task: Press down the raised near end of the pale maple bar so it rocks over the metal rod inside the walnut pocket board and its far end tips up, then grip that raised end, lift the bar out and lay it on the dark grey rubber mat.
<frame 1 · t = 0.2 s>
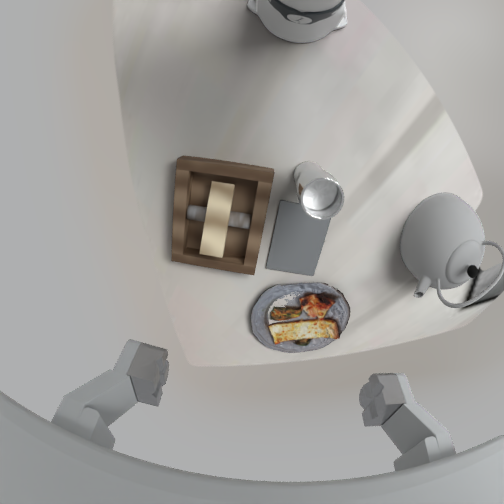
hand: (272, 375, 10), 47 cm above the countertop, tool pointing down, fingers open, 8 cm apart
rubber mat: (298, 239, 59), on the countertop
kettle: (434, 239, 57), on the countertop
pocket board: (220, 213, 57), on the countertop
maple bar: (217, 219, 53), point 4 cm above the countertop, tilted 50°, touching pocket board
food plate: (300, 315, 70), on the countertop
beer glass: (308, 175, 53), on the countertop
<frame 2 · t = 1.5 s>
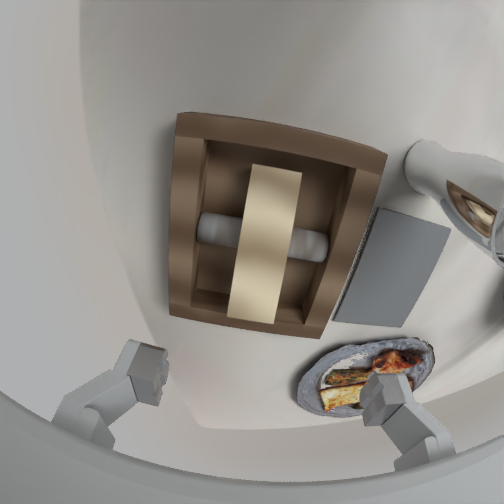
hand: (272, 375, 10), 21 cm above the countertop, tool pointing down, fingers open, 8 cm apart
rubber mat: (393, 276, 31), on the countertop
pocket board: (263, 228, 30), on the countertop
maple bar: (263, 245, 26), point 4 cm above the countertop, tilted 47°, touching pocket board
food plate: (366, 375, 43), on the countertop
beer glass: (426, 166, 25), on the countertop
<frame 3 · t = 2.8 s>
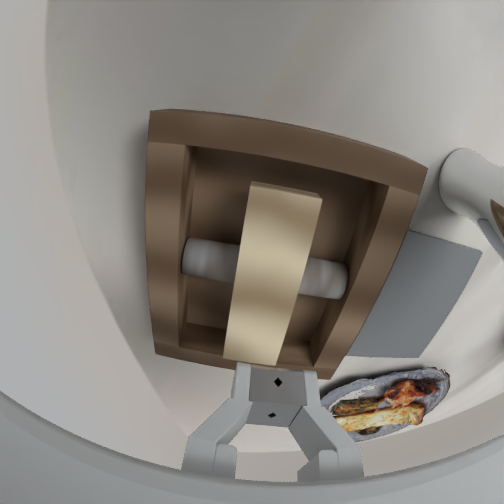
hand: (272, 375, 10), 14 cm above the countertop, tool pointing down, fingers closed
rubber mat: (415, 306, 26), on the countertop
pocket board: (266, 256, 24), on the countertop
maple bar: (265, 286, 20), point 4 cm above the countertop, tilted 32°, touching pocket board
food plate: (376, 403, 37), on the countertop
beer glass: (462, 179, 19), on the countertop
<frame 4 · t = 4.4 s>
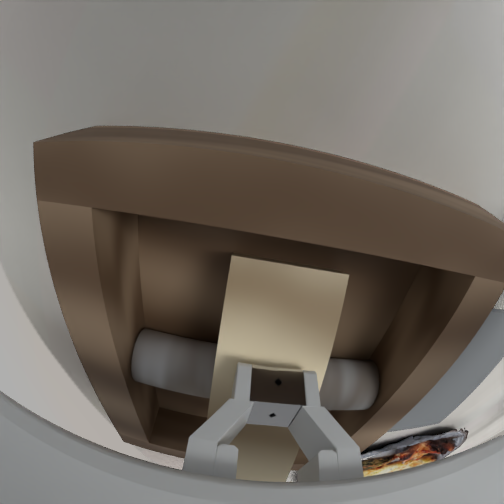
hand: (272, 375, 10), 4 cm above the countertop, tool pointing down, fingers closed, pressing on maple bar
rubber mat: (448, 381, 17), on the countertop
pocket board: (259, 350, 15), on the countertop
maple bar: (257, 413, 11), point 4 cm above the countertop, tilted 52°, touching gripper, pocket board
food plate: (385, 458, 28), on the countertop
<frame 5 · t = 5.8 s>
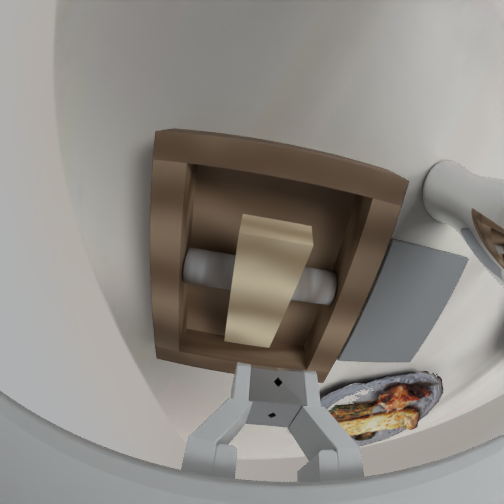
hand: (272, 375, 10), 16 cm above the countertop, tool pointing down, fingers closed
rubber mat: (404, 311, 27), on the countertop
pocket board: (260, 265, 26), on the countertop
maple bar: (259, 296, 22), point 4 cm above the countertop, tilted 7°, touching pocket board
food plate: (370, 408, 38), on the countertop
beer glass: (445, 190, 21), on the countertop
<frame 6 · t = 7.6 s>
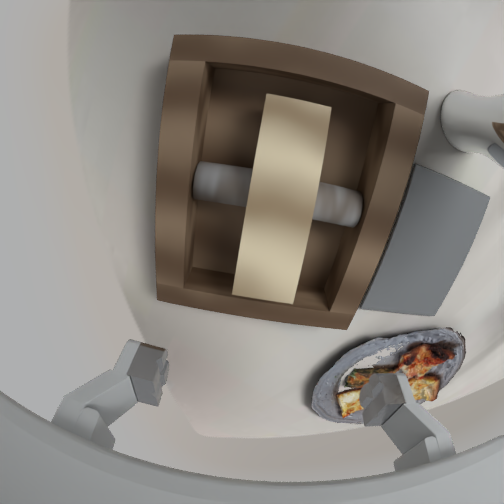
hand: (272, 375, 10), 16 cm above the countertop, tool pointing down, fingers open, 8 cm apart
rubber mat: (429, 251, 25), on the countertop
pocket board: (278, 186, 23), on the countertop
maple bar: (280, 199, 19), point 4 cm above the countertop, tilted 40°, touching pocket board
food plate: (390, 375, 36), on the countertop
beer glass: (462, 120, 18), on the countertop
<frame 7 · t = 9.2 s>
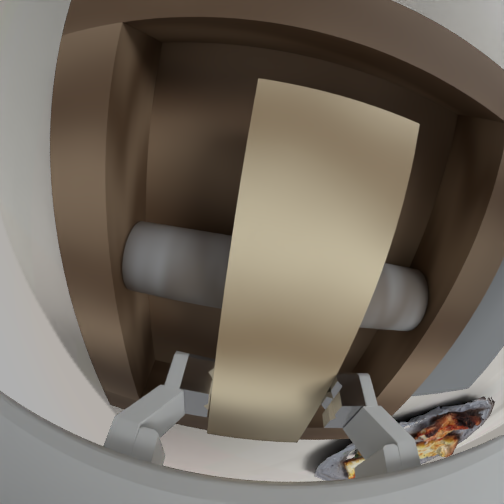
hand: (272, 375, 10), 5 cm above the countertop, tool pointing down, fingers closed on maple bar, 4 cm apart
rubber mat: (482, 326, 15), on the countertop
pocket board: (282, 257, 13), on the countertop
maple bar: (287, 318, 9), point 4 cm above the countertop, tilted 32°, touching gripper, pocket board
food plate: (406, 439, 26), on the countertop
when the fingers open (7 cm above the countertop, at t = 14.8 s): maple bar drops 5 cm, resting on rubber mat.
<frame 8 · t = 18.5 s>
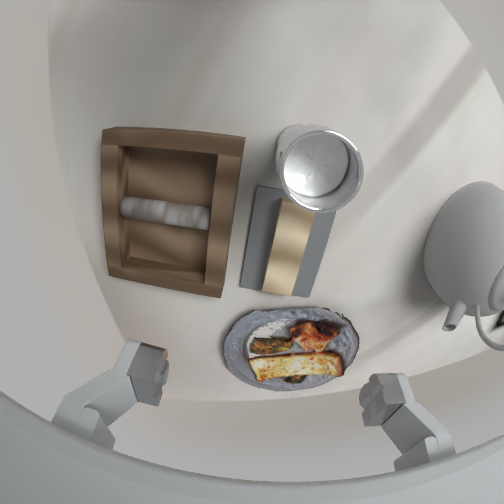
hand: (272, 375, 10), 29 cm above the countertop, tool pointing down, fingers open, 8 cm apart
rubber mat: (286, 246, 40), on the countertop
kettle: (467, 246, 38), on the countertop
pocket board: (170, 207, 38), on the countertop
maple bar: (287, 250, 39), point 1 cm above the countertop, tilted 25°, touching rubber mat
food plate: (291, 347, 51), on the countertop
beer glass: (300, 147, 33), on the countertop
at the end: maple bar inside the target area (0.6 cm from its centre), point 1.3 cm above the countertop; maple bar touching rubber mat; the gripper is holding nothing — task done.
